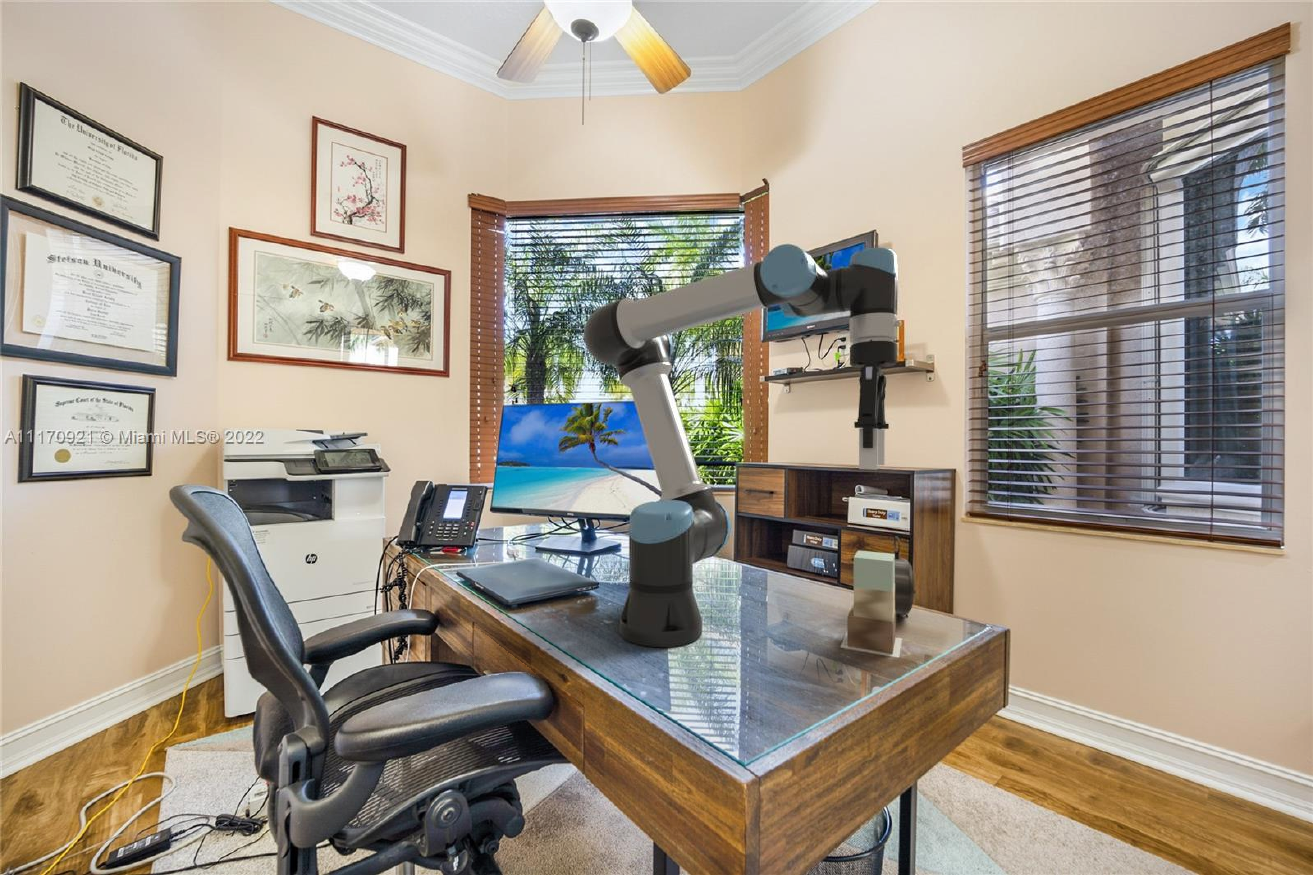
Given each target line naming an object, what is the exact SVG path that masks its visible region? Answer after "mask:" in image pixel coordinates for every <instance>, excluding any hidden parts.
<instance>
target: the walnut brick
mask: <svg viewBox="0 0 1313 875" xmlns="http://www.w3.org/2000/svg"><path fill="white" fill-rule="evenodd" d="M896 626H897V623H896V611H895V614H894V619H893V623H892V622H886V621H879V620H872V619H866V618H859V617H854V604H853V605H852V606H851V608H850V610H849V612H848V615H847V630H846V633H847V646H850V647H855V648H861V649H867V650H872V651H878V652H884V653H889V654H893V650H894V645H895V637H896V628H897V627H896Z"/></svg>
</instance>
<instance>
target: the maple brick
mask: <svg viewBox="0 0 1313 875" xmlns="http://www.w3.org/2000/svg"><path fill="white" fill-rule="evenodd" d="M853 605H854V617H859V618H866V619H872V620H879V621H886V622H892V623H893V619H894V614H895V583H894V588H893V592H889V591H881V590H873V589H865V588H857V587H854V586H853Z"/></svg>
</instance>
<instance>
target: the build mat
mask: <svg viewBox="0 0 1313 875" xmlns="http://www.w3.org/2000/svg"><path fill="white" fill-rule="evenodd" d="M902 641H903V638H902V637H896V636H895V645H894V650H893V654H889V653H884V652H878V651H872V650H867V649H861V648H855V647H850V646H847V632H846V633H845V636H844V638H843V640H842V642H841V645H840V648H842V649H847V650H851V651H859V652H863V653H870V654H876V655H881V656H886V657H891V658H892V657H893V658H897V659H898V658H900V654H901V649H902Z"/></svg>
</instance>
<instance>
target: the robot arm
mask: <svg viewBox="0 0 1313 875" xmlns="http://www.w3.org/2000/svg"><path fill="white" fill-rule="evenodd" d="M898 284H899V276H898V257H897V254H896V253H895V252H894V250H892V249H890V248H888V247H880V246H879V247H869V248H864V249H862V250H857V251H855V252H854V253H853V254H852V255H851V257H850V259H849V263H848V266H844V267H840V268H835V269H827V270H824V269H823V268H822V267H820V266H819V264H817V263H816V262H815V260H814V258H813V257H812V256H811V254H809V253H808V252H807V251H806V250H804V249H803V248H801V247H799V246H798V245H795V244H792V243H791V244H790V243H786V244H781V245H777V246H774V248H772V249H771V250H770V251H769V252H768V253H767V254H765V256H764V257H763V259H762V260H761V261H758V262H755V263H752V264H749V265H745V266H742V267H739V268H736V269H733V270H730V271H727V272H723V273H721V274H716V275H714V276H711V277H710V276H709V277H708V278H704V279H701V280H697V281H695V282H691V283H689V284H688V283H687V284H685V285H682V286H678V287H675V288H672V289H669V290H666V291H662V292H660V293H657V294H654V295H650V296H647V297H644V298H641V299H637V300H633V299H632V298H630V297H627V298H623V299H620V300H617V301H613V302H610V303H608V304H604V305H602V306H600V307H599V308H598V309H596V310H595V311H594V312H593V313H592V314H591V315H590V316H589V317H588V319H587V321H586V323H585V325H584V330H583V331H584V334H583V337H584V338H583V339H584V342H585V346H586V349H587V350H588V352H589V354H590V355H591V356H592V357H593V358H595V360H597V361H599V362H600V363H602V364H604V365H605V364H606V365H610V366H614V367H616V371H617V374H618V378H619V380H620V383H621V384H622V385H623V386H625V387H627V388H629V389H630V392H631V396H632V399H633V402H634V405H635V409H636V412H637V415H638V419H639V421H640V425H641V428H642V431H643V435H644V438H645V441H646V444H647V448H648V451H649V454H650V458H651V462H652V464H653V468H654V470H655V474H656V478H657V481H658V484H659V488H660V491H661V496H660V498H659V500H656V501H648V502H644V503H641V504H638V505H637V506H636V507H634V508H633V509H632V511H631V513H630V515H629V526H628V531H627V532H628V538H629V540H628V546H629V548H628V552H629V553H628V555H629V556H628V558H629V561H628V562H629V563H628V564H629V566H628V567H629V568H628V570H629V571H628V572H629V574H628V575H629V580H628V582H629V584H628V587H629V588H628V592H627V596H626V599H625V602H624V605H623V609H622V611H621V615H620V617H619V635H620V636H621V637H622V639H624V640H626V641H628V642H630V643H632V644H636V645H639V646H644V647H651V648H670V647H680V646H684V645H687V644H688V645H689V644H691V643H693V642H695V641H697V640H698V639H699V638H701V637H702V635H703V619H702V616H701V613H700V612H701V611H700V610H699V606H698V602H697V600H696V597H695V596H696V595H695V594H694V590H693V589H694V588H693V587H694V586H693V583H694V581H693V576H694V575H693V573H694V570H693V569H694V568H693V565H694V564H696V563H697V562H700V561H702V560H705V559H709V558H711V557H713V556H715V555H716V554H718V553H719V552H720V551H721V550H723V548H725V546H726V545H727V543H729V542H728V541H729V539H730V537H731V534H732V521H731V517H730V514H729V512H728V510H727V509H726V508H725V506H724V505H723V504H721V503H720V502H718V501H717V500H716V498H715V495H714V492H713V489H712V486H710V485H709V484H706V483H705V482H703V481H702V479H701V476H700V472H699V469H698V466H697V463H696V461H695V457H694V454H693V451H692V448H691V444H690V441H689V438H688V435H687V432H686V429H685V426H684V423H683V420H682V416H681V412H680V411H679V406H678V404H677V401H676V399H675V396H674V395H675V394H674V392H673V389H672V386H671V383H670V379H669V374H670V373H671V371H672V370H673V365H672V363H671V359H672V358H671V356H672V354H673V351H674V350H673V349H674V346H673V339H672V337H671V335H672V334H675V333H678V332H683V331H686V330H690V329H693V328H697V327H701V326H703V325H708V324H712V323H716V322H719V321H723V320H726V319H729V318H733V317H737V316H741V315H744V314H748V313H751V312H755V311H759V310H762V309H766V308H771V307H775V306H779V308H780V309H781V310H782V311H781V312H782V314H783V315H784V316H785V317H786V318H787V317H788V318H807V317H811V316H820V315H827V314H835V313H837V314H838V313H844V312H845V313H846V312H849V342H850V343H851V346H849V365H850V367H853V368H856V369H860V371H859V372H860V376H859V379H858V380H859V402H858V414H857V415H858V416H857V419H856V420H857V421H854V424H853V426H854V429H858V434H859V435H858V440H859V441H858V447H859V448H858V453H859V454H858V469H859V470H876V471H877V470H878V469H879V468H878V467H879V466H885V457H886V456H885V449H886V448H885V446H886V445H885V441H886V440H885V438H886V434H885V433H886V431H885V430H889V426H890V425H889V424H890V423H887V422H886V415H885V414H886V413H885V412H886V411H885V409H886V408H885V399H886V387H887V377H886V375H884V374H883V373H882V368H883V367H884V368H885V367H887V368H888V367H892V366H895V365H896V364H897V363H898V344H897V343H896V342H895V340H896V339H898V329H897V328H899V327H901V326H902V321H901V320H898V297H899V296H898V293H899V290H898V287H899V285H898Z"/></svg>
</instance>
